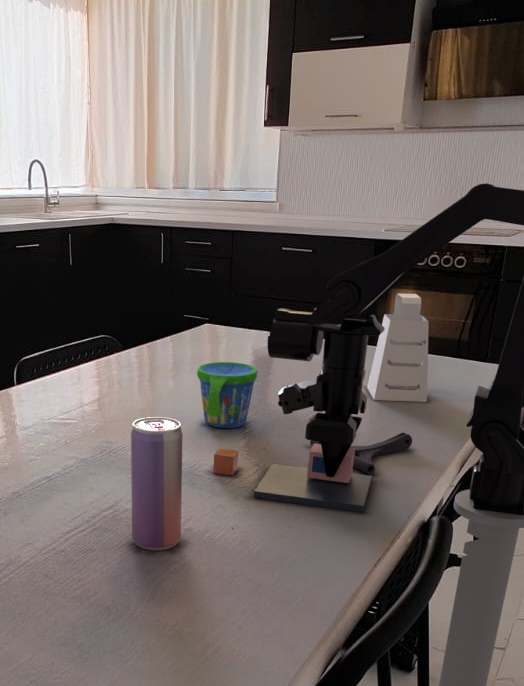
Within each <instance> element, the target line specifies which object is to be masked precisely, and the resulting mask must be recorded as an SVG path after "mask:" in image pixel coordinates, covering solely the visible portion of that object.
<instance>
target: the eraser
mask: <svg viewBox="0 0 524 686" xmlns="http://www.w3.org/2000/svg"><path fill="white" fill-rule="evenodd" d="M308 452H309V453H308V463H307V468H308V471H307V478H314V479H321V480H329V481H336V482H343V483H349V481H350V478H351V475H352V474H353V470H354V469H353V468H354V467H353V462H354V454H355V448H349V450H348V452H347V454H346V455H345V457H344V459H343V461H342V463H341V465H340V466H339V468H338V470H337V472H336V474H335V476H334V477H327V476H326V472H325V465H324V459H323V453H322V447H321V444H313V446H311V448H310V450H309V451H308Z"/></svg>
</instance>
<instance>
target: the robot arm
mask: <svg viewBox="0 0 524 686" xmlns="http://www.w3.org/2000/svg"><path fill="white" fill-rule="evenodd" d="M484 220H488V221H494V222H495V221H496V222H500V223H507V224H512V225H518V226H523V227H524V189H516V188H510V187H508V188H507V187H500V186H496V185H494V184H491V183H479V184H477V185H475V186H473V187H471V188H470V189H469V191H468V192H467V193H466V194H465V195H464V196H462V197H460V199H458V200H457V201H454V203H452V204H451V205H449V206H448V207H447V208H445V209H444V210H442V211H441V212H439V213H438V214H437V215H436V216H434V217H433V218H431V219H429V220H428V221H427V222H425V223H424V224H423V225H421V226H419V227H418V228H417V229H416V230H414V231H413V232H411V233H409V234H408V235H406V237H404V238H403V239H401V240H399V241H398V242H397V243H395V244H394V245H392V246H391V247H390V248H388V249H387V250H386V251H384V252H382V253H380V254H378V255H376V256H373V257H371V258H369V259H368V260H365V261H363V262H361V263H359V264H357V265H354V266H353V267H350V268H349V269H348V268H347V270H344V271H342V272H340V273H338V274H337V275H334V276H333V277H332V278H331V279H330V280H329V282H328V283H327V285H326V289H325V292H324V293H325V294H324V295H325V297H324V299H323V300H322V301H321V303H320V304H318V306H317V307H315V308H313V311H300V310H292V309H289V308H281V307H280V308H278V309H276V310H275V311H274V319H273V320H272V323H271V326H270V329H269V330H270V331H269V334H268V336H267V354H268V356H269V358H272V359H281V360H290V361H291V360H292V361H300V362H311V361H312V360H313V358H314V355H315V356H319V355H320V354H321V352H322V348H323V355H322V363H321V370H320V372H319V373H318V374H317V376H316V378H314V379H308V380H304V381H300V382H297V383H296V382H295V383H292V384H289V385H288V384H287V385H285V386H283V387H282V388H280V390H279V391H278V392H277V396H278V401H277V404H278V407H280V408H281V410H282V414H283V415H290V414H292V413H293V412H296V411H300V410H304V409H308V408H311V407H312V408H313V409H312V411H313V412H316V413H315V414H314V415H313V416H311V417H310V418H309V420H308V421H307V422H306V425H305V434H304V438H305V440H308V441H311V440H313V441H318V442H319V443H320V444H321V447H322V453H323V459H324V465H325V472H326V476H327V477H334V476H335V474H336V472H337V470H338V468H339V466H340V465H341V463H342V461H343V459H344V457H345V455H346V454H347V452H348V450H349V448H350V446H352V445H353V443H354V441H355V439H356V436H357V431H358V429H359V427H360V425H361V423H362V421H363V417H361V416H358V415H359V414H365V413H366V410H367V403H368V397H367V395H366V394H365V393H364V392H363V384H364V381H365V378H366V369H365V368H366V359H367V351H368V342H369V336H371V337H372V336H373V337H379V335H380V334H381V333H382V332H383V331H384V330H385V328H384V327H383V326H382V323H380V321H378V319H377V317H376V315H375V314H371V315H369V316H368V317H367V318H366V319H354V318H352V317H355V316H357V315H359V314H360V313H362V312H363V311H365V310H366V309H367V308H369V307H370V306H371V305H373V303H374V302H375V301H376V300H377V299H379V297H381V295H383V294H384V293H385V292H386V291H387V290H388V289H389V288H390V287H391V286H392V285H393V284H394V283H395V282H396V281H397V280H399V278H400V277H401V276H402V275H404V274H405V273H406V272H408V271H409V270H410V269H412V268H414V267H415V266H416V265H418V264H419V263H421V262H422V261H424V260H426V259H427V258H429V257H430V256H431V255H433V254H434V253H436V252H438V251H439V250H440V249H441V248H443V247H445V246H446V245H448V244H449V243H451V242H452V241H454V240H455V239H457V238H458V237H460V236H461V235H462V234H463V233H466V232H467V231H468V230H470V229H471V228H473V227H474V226H475V225H477V224H479V223H480V222H482V221H484ZM337 317H341V318H343V320H342V321H341V324H338V323H337V324H335V323H328V322H329V321H332V320H333V319H335V318H337ZM324 332H325V333H324ZM523 402H524V277H523V278H522V282H521V286H520V289H519V293H518V296H517V299H516V303H515V307H514V310H513V313H512V317H511V320H510V324H509V328H508V331H507V335H506V337H505V341H504V345H503V349H502V351H501V356H500V358H499V363H498V367H497V369H496V373H495V375H494V377H493V379H492V381H491V383H490V384H489V387H488V388H487V387H484V386H481V385H478V386H477V388H476V391H475V395H474V400H473V408H472V409H471V411H470V413H469V416H468V419H467V423H466V427H467V428H469V427H471V429H470V441H471V443H472V444H473V445H474V447H475V449H477V450H479V451H480V452H481V453H482V454H480V455H479V462H478V465H477V464H475V465H474V466H473V469H472V474H471V482H470V485H469V489H470V491H469V498H470V500H472V504H473V508H474V509H478V510H486V511H494V512H501V513H509V514H517V515H524V428H523V427H522V426H521V423H522V422H521V421H522V411H523V404H524V403H523ZM354 415H356V416H354Z"/></svg>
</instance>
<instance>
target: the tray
mask: <svg viewBox="0 0 524 686" xmlns="http://www.w3.org/2000/svg"><path fill="white" fill-rule="evenodd" d="M307 471H308V467H301V466H293V465H285V464H276V463H271V464H270V466H269V468H268V469H267V471H266V472H265V474H264V475H263V477H262V478H261V480H260V481H259V483H258V485H257V486H256V487H255V489H254V490H253V498H254V499H262V500H268V501H274V502H275V501H276V502H283V503H284V502H285V503H291V504H297V505H306V506H311V507H312V506H314V507H321V508H328V509H335V510H341V511H350V512H355V513H356V512H357V513H364V510H365V507H366V503H367V500H368V496H369V493H370V489H371V485H372V481H373V475H369V474H360V473H352V475H351V478H350V481H349V483H343V482H336V481H329V480H321V479H314V478H307Z"/></svg>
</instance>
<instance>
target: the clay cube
mask: <svg viewBox="0 0 524 686" xmlns="http://www.w3.org/2000/svg"><path fill="white" fill-rule="evenodd" d="M238 462H239V450H237V449H236V450H235V449H226V448H218V450H216V452H215V453H214V455H213V473H214V474H219V475H227V476H234V474H235V473H236V471H238V465H239V464H238Z"/></svg>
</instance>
